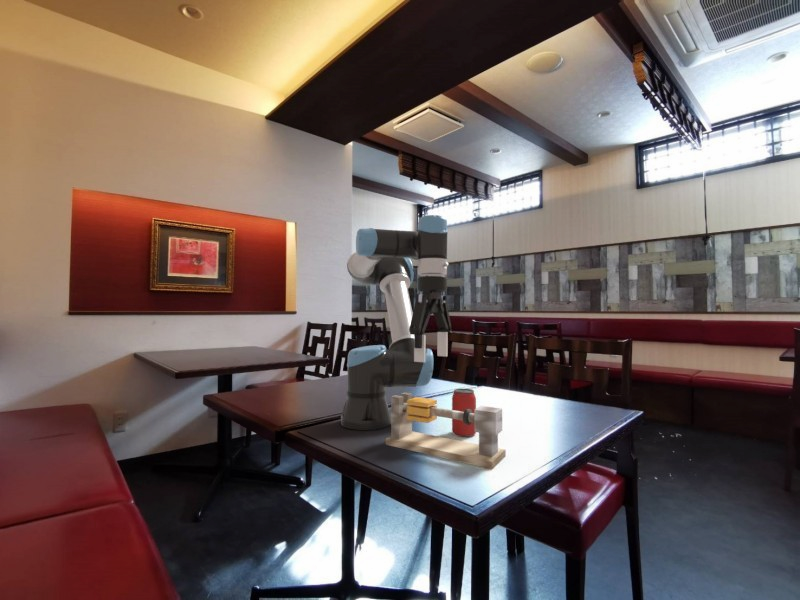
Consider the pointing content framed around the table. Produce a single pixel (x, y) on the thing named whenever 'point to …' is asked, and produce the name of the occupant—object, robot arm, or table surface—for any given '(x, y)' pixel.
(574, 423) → the table surface
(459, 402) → the beer can
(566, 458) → the table surface
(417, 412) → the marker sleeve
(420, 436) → the rod stand with block
